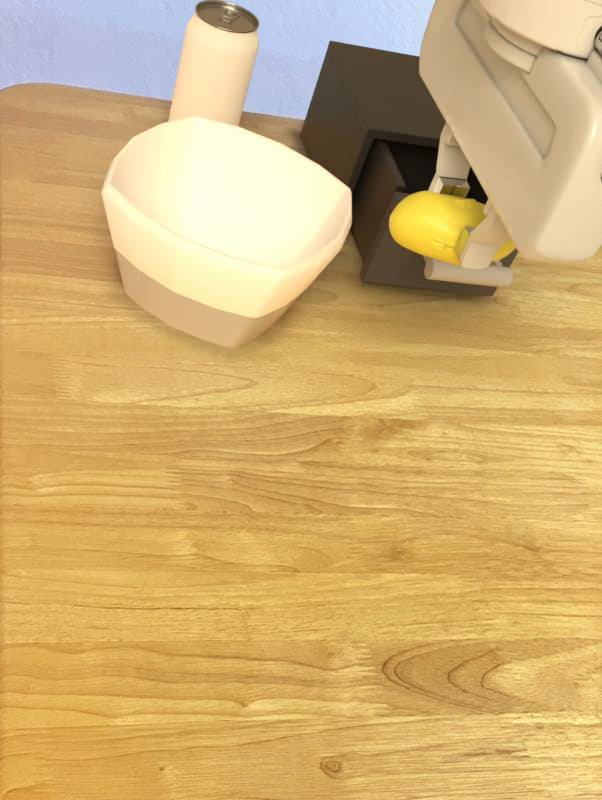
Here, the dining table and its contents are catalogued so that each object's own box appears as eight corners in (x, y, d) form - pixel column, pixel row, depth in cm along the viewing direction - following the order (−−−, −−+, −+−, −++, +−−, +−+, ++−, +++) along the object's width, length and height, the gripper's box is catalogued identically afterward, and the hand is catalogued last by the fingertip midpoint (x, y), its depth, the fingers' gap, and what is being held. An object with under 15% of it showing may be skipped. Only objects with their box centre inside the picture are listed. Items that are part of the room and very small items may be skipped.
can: (154, 150, 82) (179, 14, 73) (177, 122, 86) (204, -11, 77) (218, 175, 82) (252, 42, 73) (238, 146, 86) (273, 16, 77)
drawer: (511, 334, 75) (560, 256, 69) (376, 321, 72) (415, 238, 66) (445, 202, 86) (482, 125, 80) (327, 185, 83) (356, 104, 77)
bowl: (343, 289, 75) (384, 189, 68) (258, 403, 64) (296, 299, 57) (163, 200, 78) (184, 94, 70) (51, 295, 67) (63, 182, 59)
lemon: (380, 220, 55) (403, 163, 52) (501, 252, 56) (531, 197, 53) (380, 259, 53) (405, 200, 50) (507, 292, 53) (539, 236, 50)
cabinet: (464, 245, 84) (513, 150, 76) (330, 229, 81) (368, 128, 73) (420, 156, 93) (460, 63, 86) (298, 138, 90) (329, 40, 82)
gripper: (736, 101, 37) (564, 353, 48) (557, -89, 49) (452, 147, 60) (605, 80, 35) (459, 345, 46) (454, -110, 47) (365, 136, 58)
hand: (454, 232), depth 53 cm, fingers closed on lemon, 4 cm apart
